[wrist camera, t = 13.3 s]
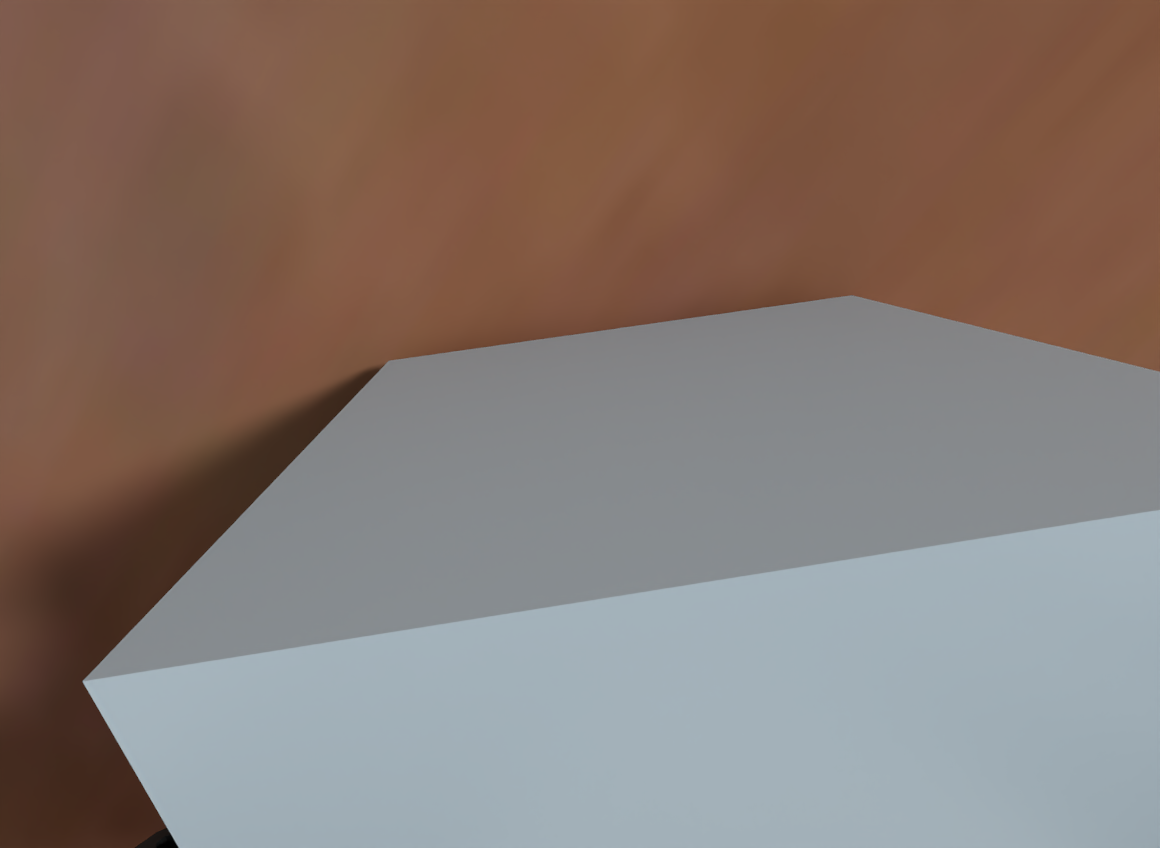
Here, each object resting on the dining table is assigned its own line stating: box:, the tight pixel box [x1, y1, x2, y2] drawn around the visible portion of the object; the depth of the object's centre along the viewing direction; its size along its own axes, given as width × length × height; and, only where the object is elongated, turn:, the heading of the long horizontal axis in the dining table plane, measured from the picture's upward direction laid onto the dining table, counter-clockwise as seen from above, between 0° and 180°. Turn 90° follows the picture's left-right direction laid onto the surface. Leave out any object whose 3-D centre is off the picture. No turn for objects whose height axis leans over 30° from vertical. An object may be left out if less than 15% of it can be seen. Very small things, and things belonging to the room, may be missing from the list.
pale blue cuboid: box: [82, 295, 1160, 848], centre depth 10 cm, size 10×10×9 cm
